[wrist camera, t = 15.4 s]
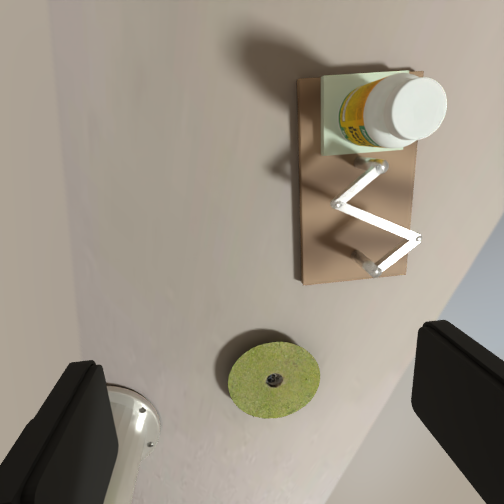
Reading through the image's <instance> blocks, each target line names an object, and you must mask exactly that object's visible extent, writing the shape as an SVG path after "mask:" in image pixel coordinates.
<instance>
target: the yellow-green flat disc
mask: <svg viewBox="0 0 504 504" xmlns="http://www.w3.org/2000/svg"><path fill="white" fill-rule="evenodd" d="M319 382H320V371H319V367H318V364H317V362H316V360H315V359H314V357H313V356H312V355H311V354H310V353H309V352H308V351H306V350H305V349H303V348H302V347H300V346H297V345H295V344H291V343H288V342H280V343H279V342H272V343H266V344H262V345H258V346H257V347H254V348H251V349H250V350H249V351H247V352H246V353H244V354H243V355H242V356H241V357H239V359H238V360H237V361H236V363H235V364H234V366H233V367H232V369H231V372H230V374H229V378H228V389H229V393H230V396H231V398H232V400H233V402H234V403H235V404H236V406H238V408H240V409H241V410H242V411H244V412H245V413H247V414H249V415H252V416H253V417H254V416H255V417H259V418H278V417H279V418H280V417H284V416H287V415H289V414H292V413H294V412H296V411H298V410H300V409H301V408H302V407H304V406H305V405H306V404H307V403H308V402H309V401H311V399H312V398H313V397H314V395H315V393H316V391H317V389H318V386H319Z"/></svg>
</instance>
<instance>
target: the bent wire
mask: <svg viewBox="0 0 504 504" xmlns="http://www.w3.org/2000/svg"><path fill="white" fill-rule="evenodd" d="M354 166H355V167H356V168H358V169H362V170H366V171H365V172H364V173H363V174H362V175H360V176H359V177H358V178H357V179H356V180H354V181H353V182H352V183H351V184H350V185H349V186H347V187H346V188H345V189H344V190H343V191H341V192H340V193H339V194H338V195H337V196H336V197H334V198H333V199H332V200H331V202H330V206H331V208H333V209H337V210H339V211H342V212H344V213H347V214H349V215H351V216H354V217H356V218H359V219H361V220H363V221H366V222H368V223H371V224H373V225H375V226H378V227H380V228H383V229H385V230H387V231H390V232H392V233H395V234H397V235H399V236H402V237H404V238H406V239H404V240H403V241H402V242H401V243H399V244H398V245H397V246H395V247H394V248H393V249H392V250H390V251H389V252H388V253H387V254H385V255H384V256H383V257H382V258H380V259H379V260H378V261H377V262H375V263H374V262H373V261H372V260H370V259H369V258H368V257H367V256H365V255H364V254H363V253H362V252H360V251H359V250H355V251H353V252H352V254H351V258H352V259H353V260H354V261H355V262H356V263H357V264H358V265H359V266H361V267H362V268H363V269H364V270H365V271H366V272H367V273H368V274H369V275H371V276H372V277H373V278H377V277H379V276H380V275H381V274H382V272H383V271H384V270H385V269H387V268H388V267H389V266H390V265H392V264H393V263H394V262H396V261H397V260H398V259H399V258H401V257H402V256H403V255H404V254H406V253H407V252H408V251H409V250H411V249H412V248H413V247H415V246H416V245H417V244H418V243H420V241H421V239H422V236H421V234H420V233H417V232H416V233H415V232H413V231H411V230H408V229H406V228H403V227H401V226H399V225H396V224H394V223H392V222H389V221H387V220H385V219H382V218H380V217H378V216H375V215H373V214H370V213H368V212H366V211H363V210H361V209H359V208H356V207H354V206H352V205H349V204H347V203H346V202H347V201H349V200H350V199H351V198H352V197H353V196H355V195H356V194H357V193H358V192H359V191H361V190H362V189H363V188H364V187H365V186H366V185H368V184H369V183H370V182H371V181H372V180H374V179H375V178H376V177H377V176H378V175H380V174H383V173H385V172H386V171H387V170H388V168H389V164H388V162H387V161H386V160H382V159H375V158H368V157H361V156H359V157H357V158H356V159H355V160H354Z"/></svg>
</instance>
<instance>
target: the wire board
mask: <svg viewBox="0 0 504 504" xmlns="http://www.w3.org/2000/svg"><path fill="white" fill-rule="evenodd" d="M409 73H410V74H413V75H416V76H418V77H423V73H424V71H416V72H409ZM297 97H298V143H299V189H300V234H301V280H302V283H303V285H312V284H322V283H331V282H341V281H350V280H359V279H369V278H373V277H372V276H371V275H369V274H368V273H367V272H366V271H365V270H364V269H363V268H362V267H361V266H359V265H358V264H357V263H356V262H355V261H354V260H353V259H352V258H351V254H352V252H353V251H355V250H359V251H360V252H362V253H363V254H364V255H365V256H367V257H368V258H369V259H370V260H372V261H373V262H374V263H375V262H377V261H378V260H379V259H380V258H382V257H383V256H384V255H385V254H387V253H388V252H389V251H390V250H392V249H393V248H394V247H395V246H397V245H398V244H399V243H401V242H402V241H403V240H404V239H406V238H404V237H402V236H399V235H397V234H395V233H392V232H390V231H387V230H385V229H383V228H380V227H378V226H375V225H373V224H371V223H368V222H366V221H363V220H361V219H359V218H356V217H354V216H351V215H349V214H347V213H344V212H342V211H339V210H337V209H333V208H331V206H330V202H331V200H332V199H333V198H334V197H336V196H337V195H338V194H339V193H340V192H341V191H343V190H344V189H345V188H346V187H347V186H349V185H350V184H351V183H352V182H353V181H354V180H356V179H357V178H358V177H359V176H360V175H362V174H363V173H364V172H365V171H366V170H362V169H358V168H356V167H355V166H354V160H355V159H356V158H357V157H359V156H361V157H368V158H375V159H382V160H386V161H387V162H388V164H389V168H388V170H387V171H386V172H385V173H383V174H380V175H378V176H377V177H376V178H375V179H374V180H372V181H371V182H370V183H369V184H368V185H366V186H365V187H364V188H363V189H362V190H361V191H359V192H358V193H357V194H356V195H355V196H353V197H352V198H351V199H350V200H349V201H347V202H346V203H347V204H349V205H352V206H354V207H356V208H359V209H361V210H363V211H366V212H368V213H370V214H373V215H375V216H378V217H380V218H382V219H385V220H387V221H389V222H392V223H394V224H396V225H399V226H401V227H403V228H406V229H408V230H410V222H411V211H412V199H413V188H414V176H415V165H416V153H417V142H418V140H416V141H415V142H413V143H412V144H410V145H408V146H405V147H403V150H393V151H380V152H368V153H355V154H342V155H329V156H322V155H321V77H317V78H300V79H298V80H297ZM407 256H408V252H407V253H406V254H404V255H403V256H402V257H401V258H399V259H398V260H397V261H396V262H394V263H393V264H392V265H390V266H389V267H388V268H387V269H385V270H384V271H383V272H382V274H381V275H380V276H379V277H388V276H397V275H406V268H407ZM377 278H378V277H377Z"/></svg>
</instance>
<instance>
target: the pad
mask: <svg viewBox="0 0 504 504" xmlns="http://www.w3.org/2000/svg"><path fill="white" fill-rule="evenodd" d="M398 73H409V70H407V71H390V72H374V73H357V74H340V75H324V76H322V77H321V155H322V156H329V155H342V154H355V153H368V152H380V151H393V150H403V147H402V148H394V149H393V148H379V147H367V146H358V145H354V144H352V143H350V142H348V141H347V140H346V139H345V138H344V137H343V136H342V134H341V132H340V130H339V127H338V121H337V116H338V109H339V107H340V104H341V102H342V101H343V99H344V98H345V96H346V95H347V94H348V93H349V92H351V91H352V90H353V89H355V88H357V87H360V86H362V85H365V84H368V83H371V82H374V81H376V80H379V79H382V78H385V77H387V76H390V75H394V74H398Z"/></svg>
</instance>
